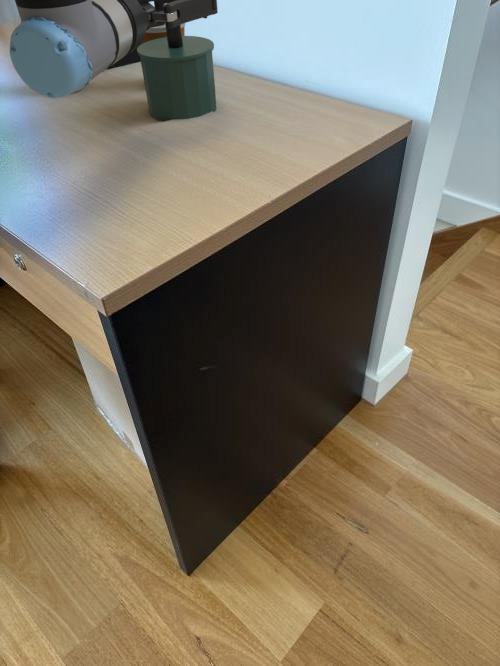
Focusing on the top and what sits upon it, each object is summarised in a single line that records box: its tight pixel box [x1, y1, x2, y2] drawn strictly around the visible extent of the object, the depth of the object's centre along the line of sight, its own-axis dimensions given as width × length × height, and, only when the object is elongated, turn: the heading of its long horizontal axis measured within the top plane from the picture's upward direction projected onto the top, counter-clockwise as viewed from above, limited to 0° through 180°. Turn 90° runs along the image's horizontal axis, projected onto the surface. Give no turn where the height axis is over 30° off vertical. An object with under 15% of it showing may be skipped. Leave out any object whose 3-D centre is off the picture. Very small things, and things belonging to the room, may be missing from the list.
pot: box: [140, 51, 217, 122], centre depth 86 cm, size 12×12×10 cm
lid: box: [137, 24, 215, 61], centre depth 80 cm, size 12×12×10 cm
